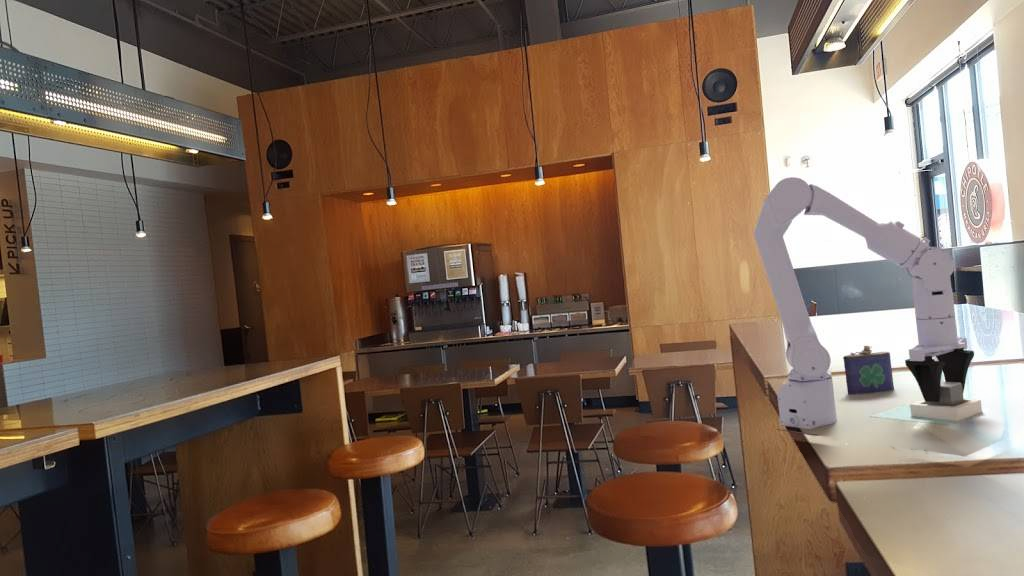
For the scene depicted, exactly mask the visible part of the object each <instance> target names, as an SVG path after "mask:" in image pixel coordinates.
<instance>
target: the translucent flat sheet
mask: <svg viewBox="0 0 1024 576" xmlns="http://www.w3.org/2000/svg"><path fill="white" fill-rule="evenodd" d="M980 413H983V410H982V412H980ZM980 413H977V414H975V415H978V414H980ZM975 415H972V416H971V417H973V416H975ZM869 417H871V418H881V419H886V420H887V419H889V420H900V421H907V422H915V423H927V424H935V425H936V424H937V425H943V426H949V425H952V424H954V423H957V422H960V421H962V420H965V419H967V418H969V417H967V418H964V419H962V420H959V421H956V420H946V419H936V418H926V417H917V416H911V410H910V404H904V405H900V406H897V407H893V408H889V410H888V409H887V410H885V411H882V412H879V413H876V414H873V415H870V416H869Z"/></svg>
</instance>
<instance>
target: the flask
mask: <svg viewBox="0 0 1024 576" xmlns="http://www.w3.org/2000/svg"><path fill="white" fill-rule="evenodd" d="M863 347H864V348H863V350H861V351H856V352H855V353H853V352H850V354H848V355H843V365H844V374H845V379H846V380H845V381H846V389H847V394H848V395H861V394H863V395H864V394H871V393H872V394H874V393H881V392H889V391H890V392H891V391H894V390H895V386H894V377H893V368H892V361H891V353H890V352H889V351H877V352H872V351H873V350H872V349H871V348H872V346H870V345H863Z"/></svg>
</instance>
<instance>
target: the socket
mask: <svg viewBox="0 0 1024 576" xmlns="http://www.w3.org/2000/svg"><path fill="white" fill-rule="evenodd" d="M909 405H910V410H911V416H917V417H926V418H936V419H946V420H956V421H957V422H960V421H962V419H963V420H965V419H967V417H968V418H971V417H973V416H975V414H976V415H978V414H980V412H981V413H983V412H982V411H983V406H982V400H981V399H977V398H976V399H973V398H964V403H963V404H960V405H957V406H954V407H951V406H939V405H928V404H927V403H926V401H925V400H924V399H922V400H918V401H916V402H913V403H910V404H909ZM977 413H978V414H977ZM972 415H973V416H972ZM964 418H965V419H964ZM959 420H960V421H959Z"/></svg>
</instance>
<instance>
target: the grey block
mask: <svg viewBox="0 0 1024 576" xmlns="http://www.w3.org/2000/svg"><path fill="white" fill-rule="evenodd" d="M940 386H941V395H940V401H939V402H927V401H926V403H927V404H928V405H939V406H951V407H954V406H957V405H960V404H963V403H964V399H965V398H964V392H963V390H962V384H961V383H958V382H945V381H941V383H940Z"/></svg>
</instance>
